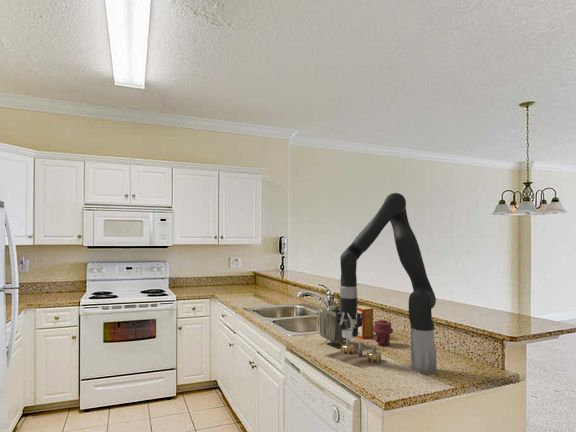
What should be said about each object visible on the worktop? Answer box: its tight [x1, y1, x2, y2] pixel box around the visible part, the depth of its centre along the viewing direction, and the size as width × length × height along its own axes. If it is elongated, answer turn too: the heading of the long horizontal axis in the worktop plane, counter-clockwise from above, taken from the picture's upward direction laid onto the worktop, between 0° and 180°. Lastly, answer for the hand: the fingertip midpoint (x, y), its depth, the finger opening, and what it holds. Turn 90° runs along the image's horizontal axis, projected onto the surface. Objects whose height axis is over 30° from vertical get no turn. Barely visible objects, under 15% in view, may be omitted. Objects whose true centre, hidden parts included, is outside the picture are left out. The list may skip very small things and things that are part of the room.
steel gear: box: [342, 328, 356, 340], centre depth 171 cm, size 6×6×3 cm
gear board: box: [324, 338, 387, 369], centre depth 174 cm, size 22×16×7 cm
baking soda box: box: [351, 305, 374, 340], centre depth 215 cm, size 10×6×16 cm
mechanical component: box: [373, 319, 394, 347], centre depth 198 cm, size 12×10×10 cm
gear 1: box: [340, 340, 356, 354], centre depth 182 cm, size 6×6×5 cm
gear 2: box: [366, 350, 382, 364], centre depth 170 cm, size 6×6×3 cm
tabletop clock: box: [318, 295, 352, 347], centre depth 195 cm, size 14×9×25 cm, turn 33°
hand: (349, 334), depth 171 cm, fingers closed on steel gear, 6 cm apart
